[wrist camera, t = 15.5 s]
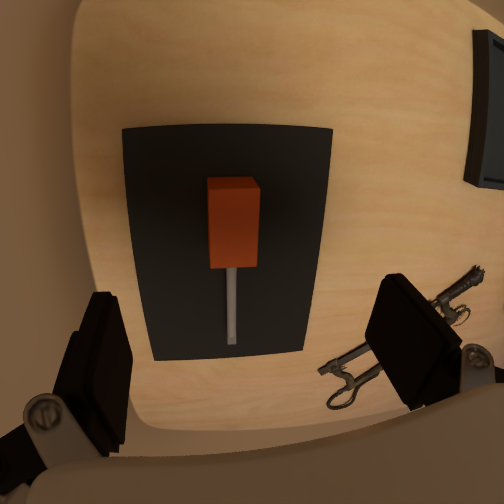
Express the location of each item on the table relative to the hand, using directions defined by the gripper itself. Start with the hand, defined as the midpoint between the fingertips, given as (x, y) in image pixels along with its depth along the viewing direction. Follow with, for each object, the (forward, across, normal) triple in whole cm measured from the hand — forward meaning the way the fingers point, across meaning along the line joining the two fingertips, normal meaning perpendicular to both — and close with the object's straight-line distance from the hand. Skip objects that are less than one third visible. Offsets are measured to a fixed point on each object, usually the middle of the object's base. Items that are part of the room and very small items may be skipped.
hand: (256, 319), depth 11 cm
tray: (+12, -31, -10) cm, 35 cm away
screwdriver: (+12, 0, +5) cm, 13 cm away
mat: (+12, 0, +5) cm, 13 cm away
